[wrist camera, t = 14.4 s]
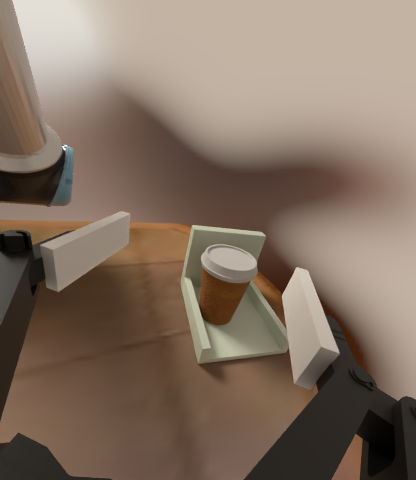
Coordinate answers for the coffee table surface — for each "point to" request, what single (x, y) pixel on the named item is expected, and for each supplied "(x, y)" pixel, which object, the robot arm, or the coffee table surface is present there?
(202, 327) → the pale green l-shaped stand
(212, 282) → the disposable coffee cup
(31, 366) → the coffee table surface
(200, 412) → the coffee table surface
